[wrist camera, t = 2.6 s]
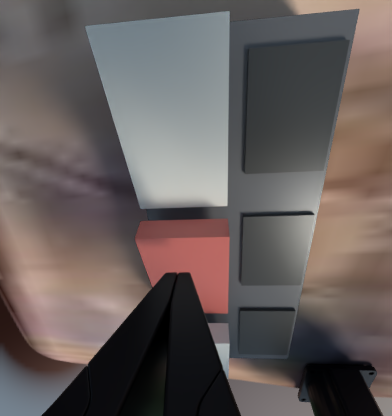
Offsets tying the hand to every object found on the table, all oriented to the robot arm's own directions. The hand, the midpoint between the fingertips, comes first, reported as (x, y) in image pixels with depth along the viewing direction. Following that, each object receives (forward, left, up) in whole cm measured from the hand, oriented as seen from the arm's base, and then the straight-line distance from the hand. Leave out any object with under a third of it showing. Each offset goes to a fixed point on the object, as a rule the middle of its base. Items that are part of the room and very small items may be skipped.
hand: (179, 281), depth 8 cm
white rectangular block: (+5, 0, -3) cm, 5 cm away
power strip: (-2, -2, -8) cm, 8 cm away
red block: (-2, 0, -3) cm, 4 cm away
